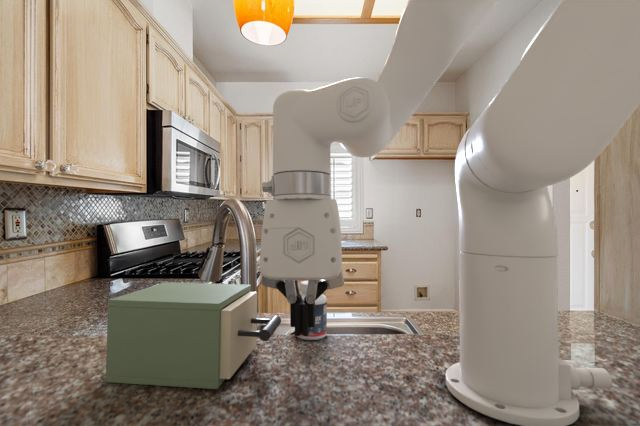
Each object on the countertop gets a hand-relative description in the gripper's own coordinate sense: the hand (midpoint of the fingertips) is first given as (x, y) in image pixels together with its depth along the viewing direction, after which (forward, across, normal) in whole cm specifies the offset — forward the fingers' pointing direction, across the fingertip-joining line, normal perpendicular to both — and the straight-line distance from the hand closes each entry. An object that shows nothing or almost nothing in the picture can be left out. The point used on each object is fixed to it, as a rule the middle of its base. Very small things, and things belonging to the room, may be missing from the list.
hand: (303, 332), depth 41 cm
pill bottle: (+5, -1, +13) cm, 14 cm away
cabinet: (+5, -16, 0) cm, 16 cm away
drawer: (+4, -12, 0) cm, 12 cm away
